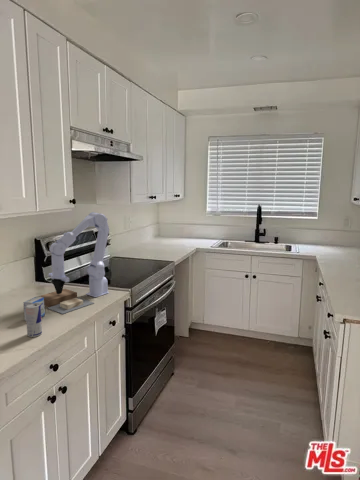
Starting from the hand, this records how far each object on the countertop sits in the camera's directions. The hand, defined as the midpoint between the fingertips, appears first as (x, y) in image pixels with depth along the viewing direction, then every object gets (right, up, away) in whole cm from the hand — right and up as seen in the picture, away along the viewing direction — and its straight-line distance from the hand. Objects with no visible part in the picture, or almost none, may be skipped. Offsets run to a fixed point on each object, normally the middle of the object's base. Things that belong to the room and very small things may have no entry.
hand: (59, 293), depth 166 cm
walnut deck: (-1, -4, +2) cm, 5 cm away
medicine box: (-3, -8, -20) cm, 22 cm away
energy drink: (+3, -11, -36) cm, 37 cm away
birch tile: (+8, -3, -5) cm, 10 cm away
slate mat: (+8, -5, -5) cm, 10 cm away
